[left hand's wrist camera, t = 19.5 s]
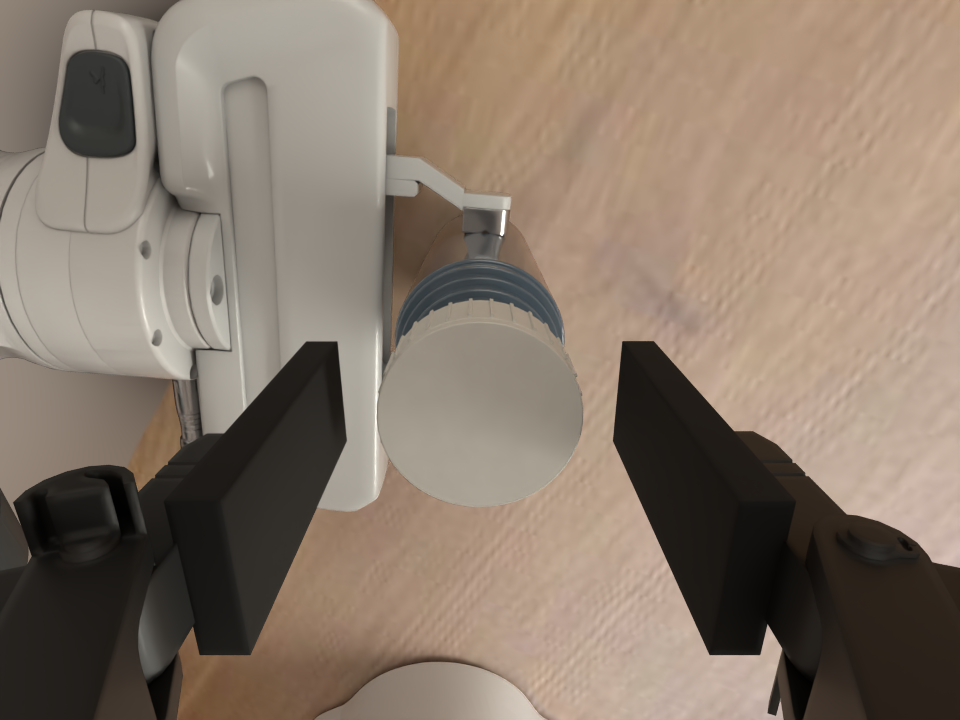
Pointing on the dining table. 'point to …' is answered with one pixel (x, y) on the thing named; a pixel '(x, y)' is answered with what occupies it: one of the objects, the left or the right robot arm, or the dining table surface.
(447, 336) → the cap
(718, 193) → the dining table surface
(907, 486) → the dining table surface
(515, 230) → the bottle
